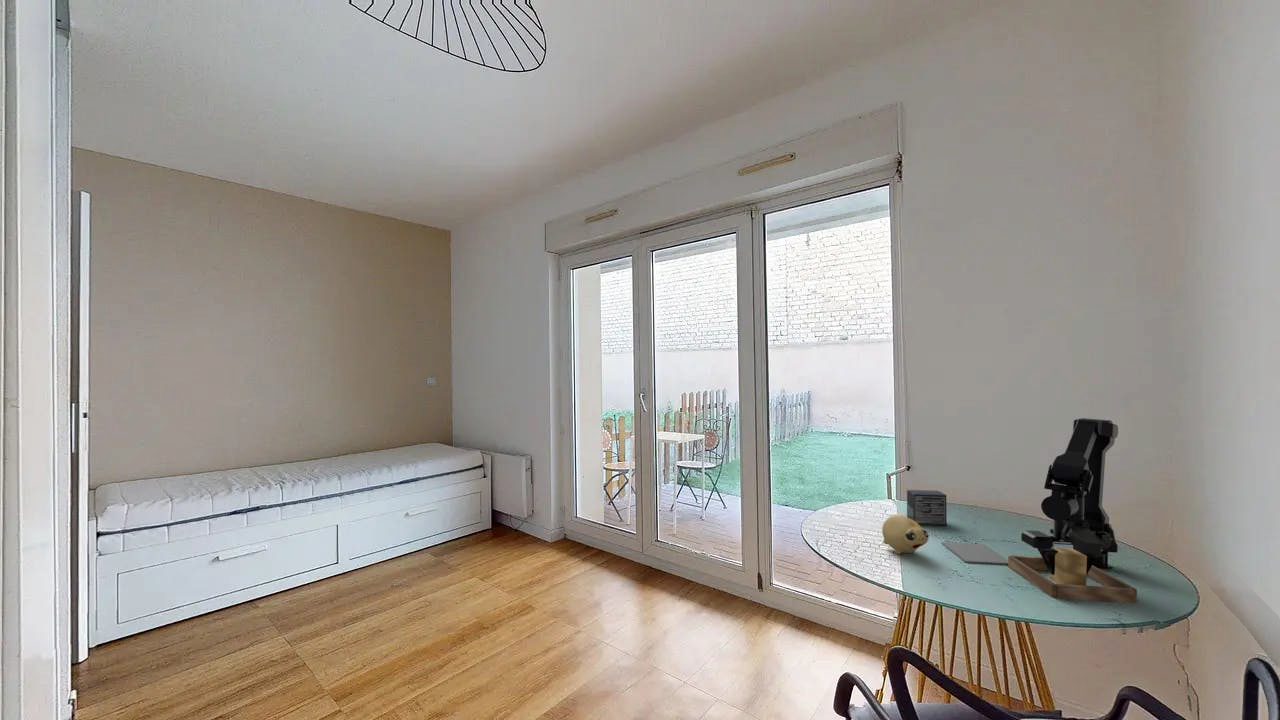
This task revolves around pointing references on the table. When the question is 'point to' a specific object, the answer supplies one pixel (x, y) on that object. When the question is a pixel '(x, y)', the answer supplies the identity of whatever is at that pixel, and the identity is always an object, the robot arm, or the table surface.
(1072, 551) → the ochre block
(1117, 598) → the wooden picture frame
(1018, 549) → the table surface
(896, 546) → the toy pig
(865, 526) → the table surface
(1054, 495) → the robot arm
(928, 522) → the small box
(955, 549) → the mat
